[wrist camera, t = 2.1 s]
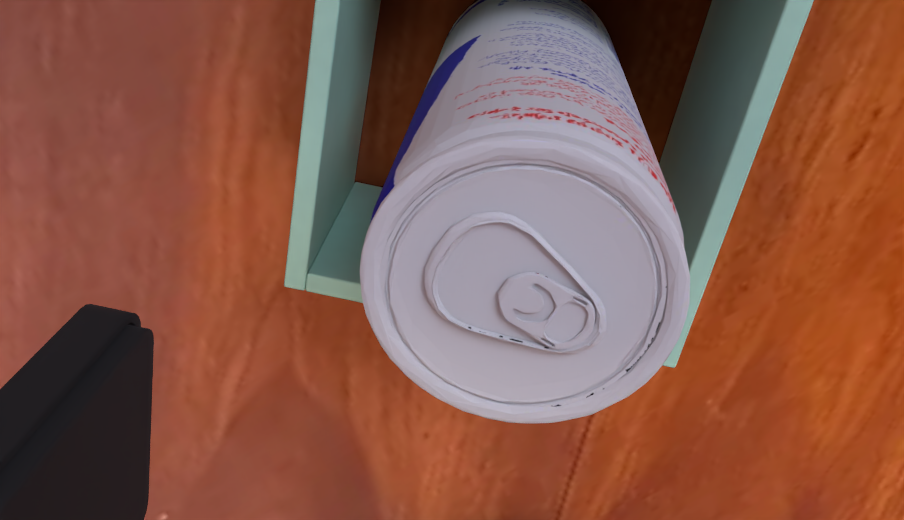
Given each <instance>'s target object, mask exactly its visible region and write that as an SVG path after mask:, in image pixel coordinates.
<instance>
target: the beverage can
mask: <svg viewBox="0 0 904 520" xmlns="http://www.w3.org/2000/svg"><path fill="white" fill-rule="evenodd" d="M360 283H361V295H362V300H363V304H364V308H365V313H366V316H367V318H368V320H369V323H370V325H371V327H372V330H373V332H374V333H375V335H376V337H377V339H378V341H379V343H380V345H381V346H382V348H383V349H384V350H385V352H386V353H387V355H388V356H389V358H390V359H391V360H392V361H393V362H394V363H395V364H396V365H397V366H398V367H399V368H400V369H401V371H402V372H403V373H404V374H405V375H406V376H407V377H409V378H410V379H411V380H412V381H413V382H414V383H416V384H417V385H418V386H419V387H421V388H422V389H424V390H425V391H427V392H428V393H430V394H431V395H433V396H434V397H436V398H438V399H440V400H442V401H444V402H446V403H448V404H450V405H452V406H454V407H456V408H458V409H460V410H462V411H464V412H468V413H471V414H475V415H478V416H481V417H485V418H488V419H493V420H499V421H504V422H512V423H553V422H560V421H566V420H570V419H575V418H579V417H583V416H587V415H591V414H594V413H596V412H598V411H600V410H602V409H604V408H606V407H608V406H610V405H612V404H614V403H616V402H618V401H620V400H622V399H624V398H626V397H628V396H630V395H631V394H632V393H634V392H635V391H636V390H638V389H639V388H640V387H642V386H643V385H644V384H646V383H647V382H648V381H649V380H650V378H651V377H652V376H653V375H654V374H655V373H656V372H657V371H658V370H659V369H660V367H661V366H662V365H663V364H664V362H665V361H666V360H667V358H668V356H669V355H670V353H671V351H672V350H673V348H674V346H675V345H676V343H677V341H678V340H679V337H680V335H681V332H682V329H683V326H684V323H685V320H686V317H687V312H688V307H689V303H690V273H689V268H688V263H687V257H686V252H685V248H684V236H683V230H682V227H681V223H680V219H679V216H678V213H677V210H676V208H675V205H674V202H673V200H672V197H671V195H670V192H669V189H668V187H667V184H666V181H665V179H664V176H663V174H662V171H661V168H660V166H659V163H658V161H657V158H656V155H655V153H654V150H653V148H652V145H651V142H650V140H649V137H648V135H647V132H646V129H645V127H644V124H643V122H642V119H641V116H640V114H639V111H638V109H637V106H636V103H635V101H634V98H633V96H632V93H631V90H630V88H629V85H628V83H627V80H626V77H625V75H624V72H623V70H622V67H621V64H620V62H619V59H618V57H617V54H616V51H615V49H614V46H613V43H612V41H611V38H610V36H609V34H608V32H607V30H606V28H605V26H604V24H603V23H602V21H601V20H600V19H599V17H598V16H597V15H596V14H595V13H594V11H593V10H592V9H591V8H590V7H589V6H587V5H586V4H585V3H584V2H582V1H581V0H477V1H475V2H474V3H473V4H472V5H471V6H469V7H468V8H467V9H466V10H465V11H464V12H463V13H462V14H461V16H460V17H459V18H458V19H457V20H456V22H455V23H454V25H453V26H452V28H451V30H450V32H449V33H448V35H447V38H446V40H445V42H444V45H443V48H442V51H441V53H440V55H439V58H438V60H437V62H436V65H435V67H434V69H433V72H432V74H431V76H430V79H429V81H428V83H427V86H426V88H425V90H424V93H423V95H422V97H421V100H420V102H419V104H418V107H417V109H416V111H415V114H414V116H413V118H412V121H411V123H410V125H409V128H408V130H407V132H406V135H405V137H404V139H403V142H402V144H401V146H400V149H399V151H398V153H397V156H396V158H395V160H394V163H393V165H392V167H391V170H390V172H389V174H388V177H387V179H386V181H385V184H384V186H383V188H382V191H381V193H380V195H379V198H378V200H377V202H376V205H375V207H374V210H373V213H372V217H371V221H370V225H369V228H368V230H367V234H366V237H365V241H364V245H363V248H362V252H361V261H360Z"/></svg>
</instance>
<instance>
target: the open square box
mask: <svg viewBox="0 0 904 520" xmlns="http://www.w3.org/2000/svg"><path fill="white" fill-rule="evenodd" d="M813 1H814V0H712V2H711V5H710V8H709V11H708V14H707V17H706V20H705V24H704V27H703V30H702V33H701V36H700V39H699V42H698V45H697V48H696V51H695V54H694V58H693V61H692V64H691V67H690V70H689V73H688V76H687V79H686V82H685V85H684V89H683V92H682V95H681V98H680V101H679V104H678V107H677V110H676V113H675V116H674V120H673V123H672V126H671V129H670V132H669V135H668V138H667V141H666V144H665V147H664V150H663V154H662V157H661V160H660V163H659V166H660V168H661V171H662V174H663V176H664V179H665V181H666V184H667V187H668V189H669V192H670V195H671V197H672V200H673V202H674V205H675V208H676V210H677V213H678V216H679V219H680V223H681V227H682V230H683V236H684V248H685V252H686V257H687V263H688V268H689V273H690V303H689V307H688V312H687V317H686V320H685V323H684V326H683V329H682V332H681V335H680V337H679V340H678V341H677V343H676V345H675V346H674V348H673V350H672V351H671V353H670V355H669V356H668V358H667V360H666V361H665V362H664V364H663V366H668V367H672V368H674V367H675V366H676V364H677V362H678V359H679V356H680V354H681V351H682V348H683V346H684V343H685V340H686V338H687V335H688V332H689V330H690V327H691V324H692V322H693V319H694V317H695V314H696V311H697V309H698V306H699V303H700V301H701V298H702V295H703V293H704V290H705V287H706V285H707V282H708V279H709V277H710V274H711V271H712V269H713V266H714V264H715V261H716V258H717V256H718V253H719V250H720V248H721V245H722V242H723V240H724V237H725V234H726V232H727V229H728V226H729V224H730V221H731V219H732V216H733V213H734V211H735V208H736V205H737V203H738V200H739V197H740V195H741V192H742V189H743V187H744V184H745V181H746V179H747V176H748V174H749V171H750V168H751V166H752V163H753V160H754V158H755V155H756V152H757V150H758V147H759V144H760V142H761V139H762V136H763V134H764V131H765V128H766V126H767V123H768V121H769V118H770V115H771V113H772V110H773V107H774V105H775V102H776V99H777V97H778V94H779V91H780V89H781V86H782V83H783V81H784V78H785V76H786V73H787V70H788V68H789V65H790V62H791V60H792V57H793V54H794V52H795V49H796V46H797V44H798V41H799V38H800V36H801V33H802V31H803V28H804V25H805V23H806V20H807V17H808V15H809V12H810V9H811V7H812V4H813ZM380 3H381V0H315V8H314V17H313V26H312V35H311V44H310V54H309V63H308V72H307V81H306V90H305V99H304V108H303V117H302V126H301V135H300V145H299V154H298V163H297V172H296V181H295V190H294V199H293V208H292V217H291V226H290V235H289V245H288V254H287V263H286V272H285V281H284V286H285V287H288V288H293V289H298V290H305V289H306V291H308V292H313V293H318V294H322V295H327V296H332V297H337V298H342V299H346V300H351V301H356V302H361V303H363V300H362V295H361V283H360V261H361V252H362V248H363V245H364V241H365V237H366V234H367V230H368V228H369V225H370V221H371V217H372V213H373V210H374V207H375V205H376V202H377V200H378V198H379V195H380V193H381V191H382V188H383V187H378V186H373V185H368V184H364V183H359V182H355V175H356V169H357V162H358V155H359V148H360V141H361V134H362V127H363V120H364V113H365V107H366V100H367V93H368V86H369V79H370V72H371V65H372V58H373V51H374V44H375V38H376V31H377V24H378V17H379V10H380ZM354 182H355V183H354Z"/></svg>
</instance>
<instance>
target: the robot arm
mask: <svg viewBox="0 0 904 520" xmlns="http://www.w3.org/2000/svg"><path fill="white" fill-rule="evenodd" d="M153 347H154V338H153V333H152V331H151V330H150V329H147V328H142V327H141V322H140V319H139V316H138V315H137V314H135V313H131V312H126V311H121V310H116V309H112V308H107V307H102V306H97V305H93V304H87V305H85V306H84V307H82V308H81V309H80V310H79V311H78V312H77V313H76V314H75V315H74V316H73V317H72V318H71V319H70V320H69V321H68V322H67V323H66V324H65V325H64V326H63V327H62V328H61V329H60V330H59V331H58V332H57V333H56V334H55V335H54V336H53V337H52V338H51V339H50V340H49V341H48V342H47V343H46V344H45V345H44V346H43V347H42V348H41V349H40V350H39V351H38V352H37V353H36V354H35V355H34V356H33V357H32V358H31V359H30V360H29V361H28V362H27V363H26V364H25V365H24V366H23V367H22V368H21V369H20V370H19V371H18V372H17V373H16V374H15V375H14V376H13V377H12V378H11V379H10V380H9V381H8V382H7V383H6V384H5V385H4V386H3V387H2V388H1V389H0V520H144V517H145V514H146V510H147V505H148V494H149V465H150V435H151V406H152V377H153Z"/></svg>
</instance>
